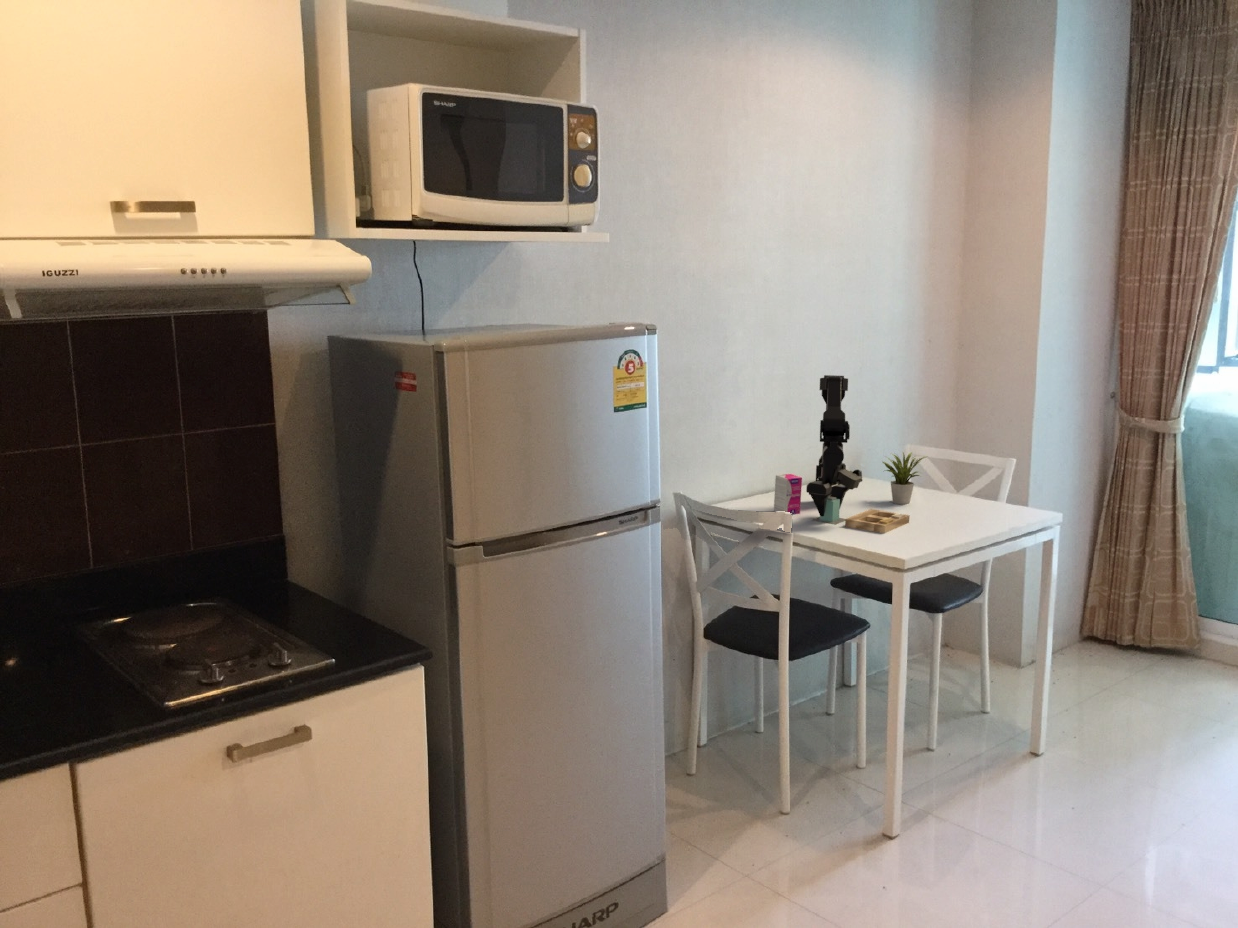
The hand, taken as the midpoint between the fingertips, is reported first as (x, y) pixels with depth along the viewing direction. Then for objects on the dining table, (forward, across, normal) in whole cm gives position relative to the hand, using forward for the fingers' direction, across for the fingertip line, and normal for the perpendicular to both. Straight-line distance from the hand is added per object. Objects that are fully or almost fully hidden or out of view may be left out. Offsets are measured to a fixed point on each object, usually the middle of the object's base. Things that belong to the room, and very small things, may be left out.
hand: (829, 513), depth 309 cm
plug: (+2, 0, 0) cm, 2 cm away
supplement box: (+3, 0, +14) cm, 14 cm away
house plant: (+2, +38, -6) cm, 39 cm away
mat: (+2, 0, 0) cm, 2 cm away
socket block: (+2, +4, -13) cm, 14 cm away
